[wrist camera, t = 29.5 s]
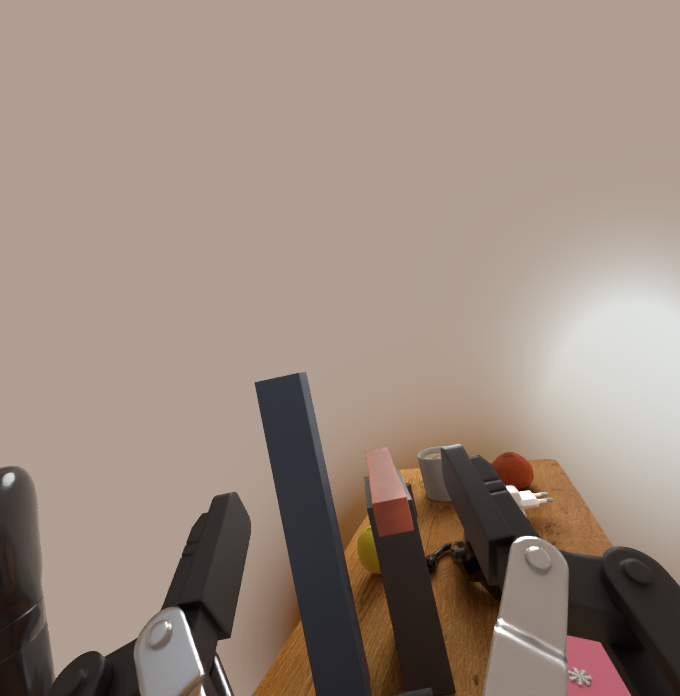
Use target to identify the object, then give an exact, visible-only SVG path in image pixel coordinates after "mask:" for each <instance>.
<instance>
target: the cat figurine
mask: <svg viewBox="0 0 680 696" xmlns="http://www.w3.org/2000/svg"><path fill="white" fill-rule="evenodd" d="M447 550H450V553H451V557H452V561H453V563H454V565H455V567H456V570H457V572H458V573H459V574H460V576H461V577H462V578H463V579H464V580H465V581H467V582H481V584H482V585H483V586H484V587H485V588H486V589H487V591H488V592H489V593H490V594H491V595H492V596H494V597H495V598H496V599H498V600H500V601H501V598H502V590H501V588H500V586H499V584H497V585H492V586H489V585H488V582H487V580H486V578H485V576H484V573H483V571H482V569H481V567H480V564H479V562H478V560H477V558H476V555H475V553H474V551H473V549H472V546H471V544H470V542H469V539H468V537H467V535H466V533H465V530H464V538H463V541H462V540H456V541H453V542H450V543H447V544H445V545H443V546H442V547H441V548H439V549H438V550H437V551H435V552H434V553H433V554H431V555H428V556H426V557H425V559H426V563H427V568H428V571H431V570H434V569H436V567H437V558H438V557H439V556H440V555H441V554H442V553H444V552H445V551H447Z"/></svg>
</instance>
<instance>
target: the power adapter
mask: <svg viewBox="0 0 680 696" xmlns="http://www.w3.org/2000/svg"><path fill="white" fill-rule="evenodd" d="M506 488H507V490H508V491H509V492H510V494H511V495H512V497H513V498H514V500H515V501H516V503H517V504H518V506H519V507H520V509H521V511H522V512H523V514H524V515H525V517H526V513H525V509H529V508H538V507H539V503H545V502H553V501H554V500H553V498H545V499H537V498H536V497H540V496H541V497H542V496H547V495H548V494H547V492H541V493H533V494H532V493H531V491H529V490H528V491H520V492H519V491H518V490H517V489H516V488H515V487H514V486H512V485H509V486H506Z"/></svg>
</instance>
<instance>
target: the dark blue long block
mask: <svg viewBox="0 0 680 696" xmlns="http://www.w3.org/2000/svg"><path fill="white" fill-rule="evenodd" d="M255 387H256V392H257V398H258V402H259V408H260V413H261V418H262V423H263V428H264V433H265V438H266V443H267V448H268V452H269V458H270V463H271V468H272V473H273V479H274V483H275V488H276V494H277V499H278V504H279V509H280V514H281V519H282V524H283V529H284V534H285V539H286V544H287V549H288V554H289V559H290V565H291V570H292V575H293V580H294V585H295V590H296V594H297V600H298V605H299V610H300V615H301V620H302V625H303V631H304V636H305V641H306V646H307V651H308V656H309V661H310V666H311V671H312V676H313V681H314V686H315V691H316V696H371V692H370V675H369V670H368V665H367V661H366V656H365V651H364V646H363V641H362V637H361V632H360V627H359V622H358V618H357V613H356V608H355V603H354V599H353V594H352V589H351V584H350V579H349V575H348V570H347V565H346V560H345V556H344V551H343V546H342V541H341V537H340V532H339V527H338V522H337V518H336V513H335V508H334V503H333V498H332V494H331V489H330V484H329V479H328V474H327V470H326V465H325V460H324V456H323V451H322V446H321V441H320V436H319V432H318V427H317V423H316V417H315V413H314V408H313V403H312V399H311V393H310V389H309V384H308V379H307V374H306V372H303V373H296V374H291V375H287V376H283V377H278V378H273V379H268V380H264V381H259V382H255Z"/></svg>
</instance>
